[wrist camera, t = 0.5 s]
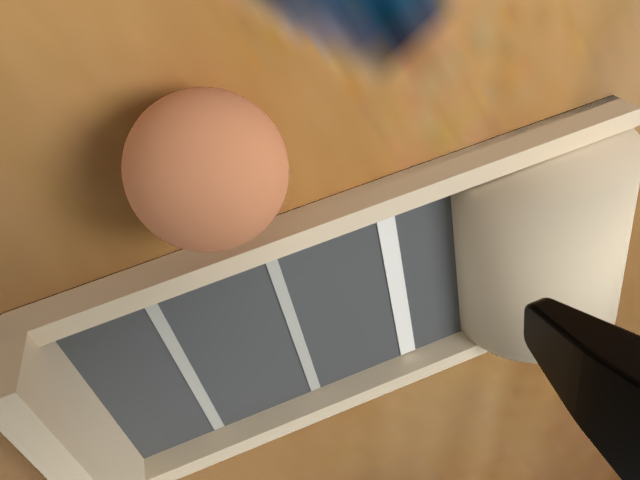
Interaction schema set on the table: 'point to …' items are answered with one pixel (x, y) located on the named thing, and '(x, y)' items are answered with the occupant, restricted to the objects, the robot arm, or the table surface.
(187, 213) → the ball
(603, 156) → the lane
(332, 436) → the table surface
